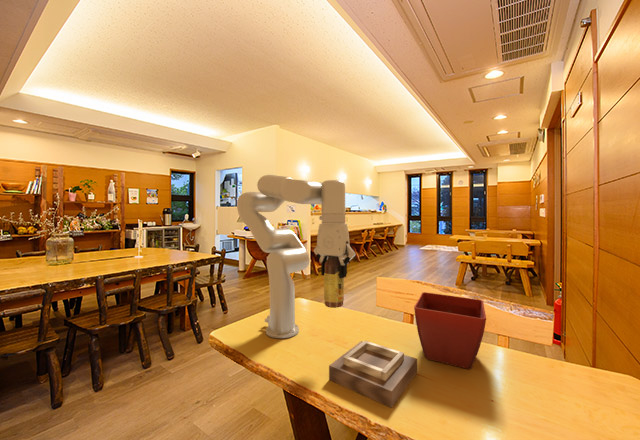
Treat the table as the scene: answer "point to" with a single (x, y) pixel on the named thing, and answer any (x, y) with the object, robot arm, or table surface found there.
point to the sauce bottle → (333, 283)
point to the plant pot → (450, 328)
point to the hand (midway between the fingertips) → (333, 275)
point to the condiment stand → (374, 372)
